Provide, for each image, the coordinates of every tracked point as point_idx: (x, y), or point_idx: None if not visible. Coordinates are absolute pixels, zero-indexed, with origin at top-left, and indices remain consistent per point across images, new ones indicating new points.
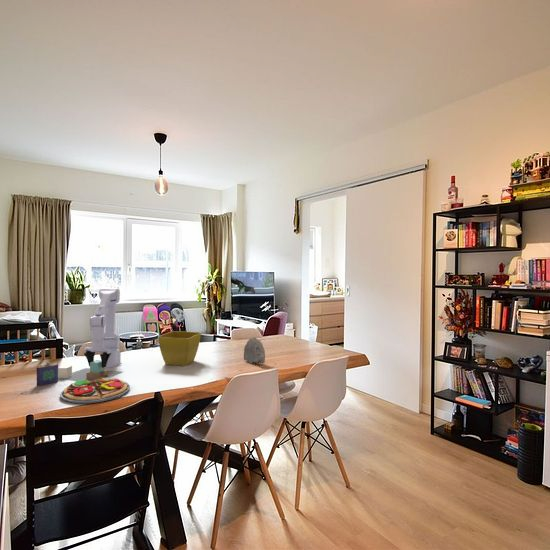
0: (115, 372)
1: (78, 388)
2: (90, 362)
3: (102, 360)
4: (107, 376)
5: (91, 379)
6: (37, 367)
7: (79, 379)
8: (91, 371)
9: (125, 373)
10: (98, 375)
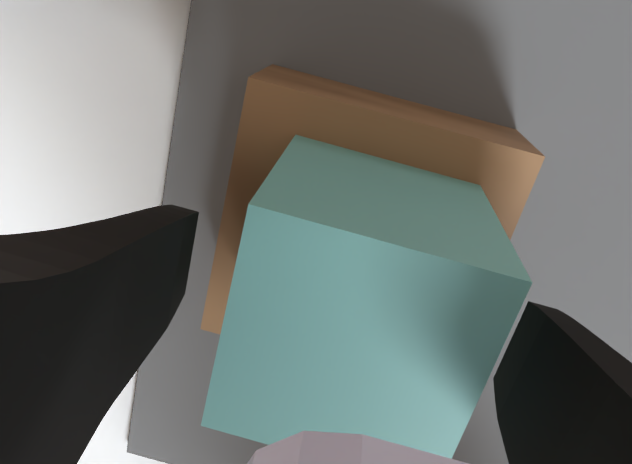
0: (216, 430)
1: None
2: (514, 277)
3: (63, 241)
4: None
5: (404, 86)
6: None
7: (628, 74)
8: (445, 182)
9: None
10: (254, 75)
